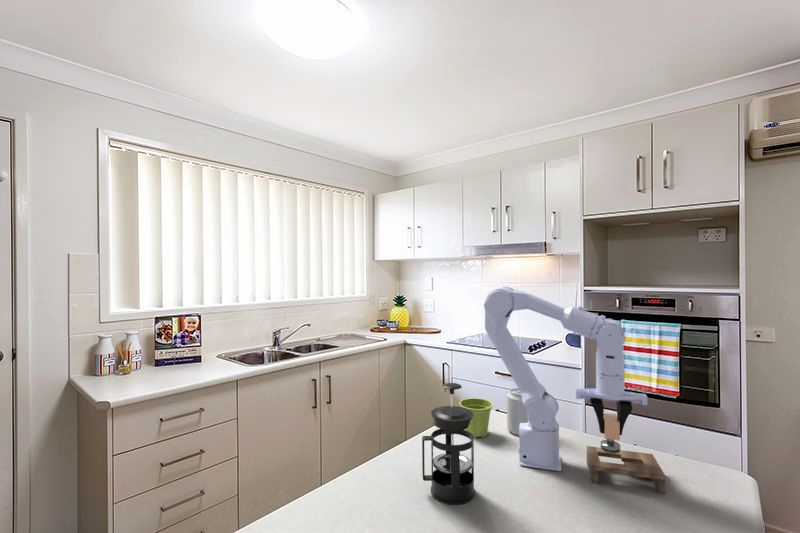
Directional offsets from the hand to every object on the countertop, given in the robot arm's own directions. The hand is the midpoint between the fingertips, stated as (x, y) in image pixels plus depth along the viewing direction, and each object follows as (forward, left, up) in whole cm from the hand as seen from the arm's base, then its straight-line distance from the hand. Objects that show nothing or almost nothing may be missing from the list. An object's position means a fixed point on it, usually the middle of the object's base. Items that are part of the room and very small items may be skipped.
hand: (610, 432), depth 93 cm
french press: (-34, -18, -10) cm, 39 cm away
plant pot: (-33, +14, -10) cm, 37 cm away
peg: (0, 0, -4) cm, 4 cm away
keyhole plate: (+2, 0, -10) cm, 10 cm away
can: (-21, +19, -10) cm, 30 cm away
